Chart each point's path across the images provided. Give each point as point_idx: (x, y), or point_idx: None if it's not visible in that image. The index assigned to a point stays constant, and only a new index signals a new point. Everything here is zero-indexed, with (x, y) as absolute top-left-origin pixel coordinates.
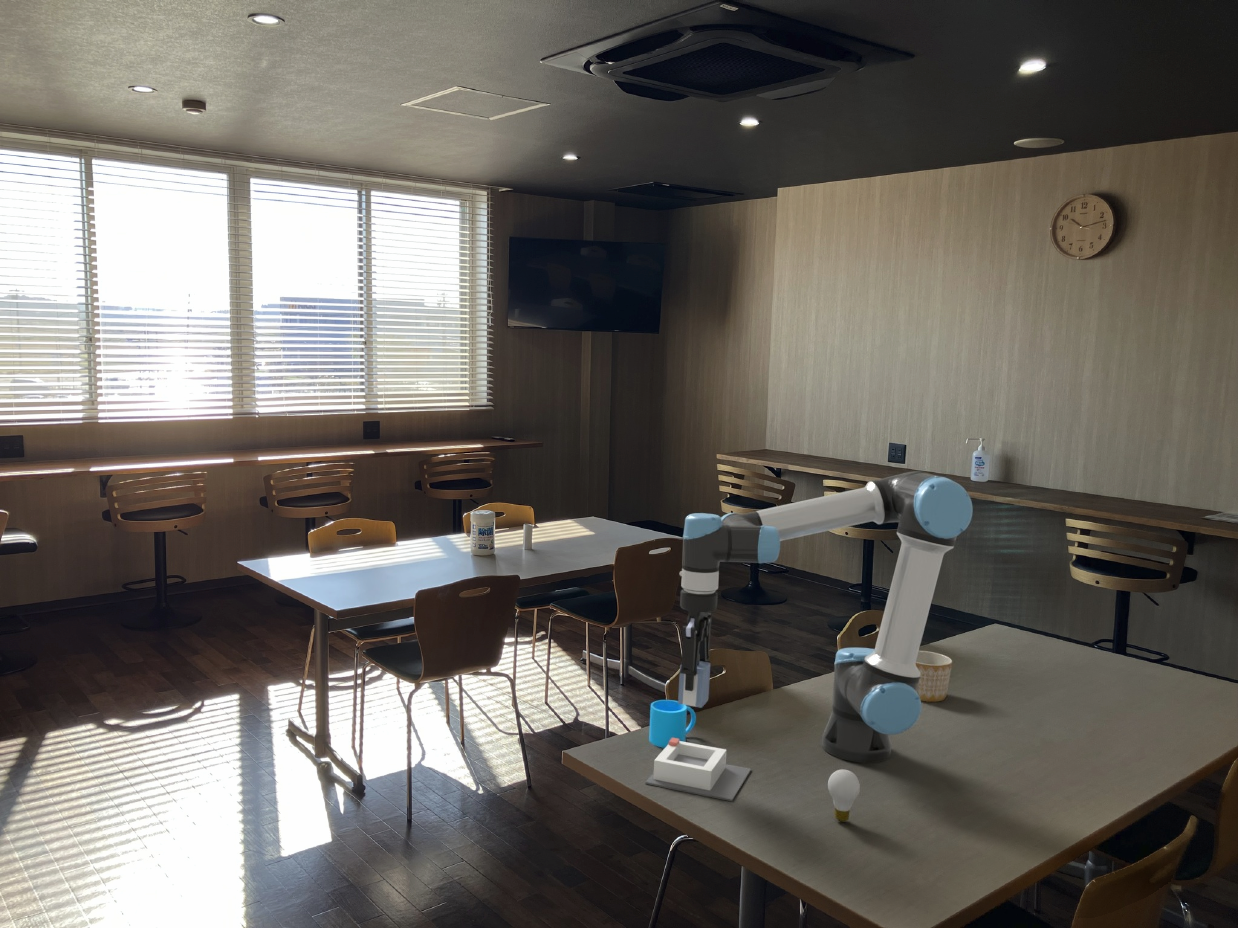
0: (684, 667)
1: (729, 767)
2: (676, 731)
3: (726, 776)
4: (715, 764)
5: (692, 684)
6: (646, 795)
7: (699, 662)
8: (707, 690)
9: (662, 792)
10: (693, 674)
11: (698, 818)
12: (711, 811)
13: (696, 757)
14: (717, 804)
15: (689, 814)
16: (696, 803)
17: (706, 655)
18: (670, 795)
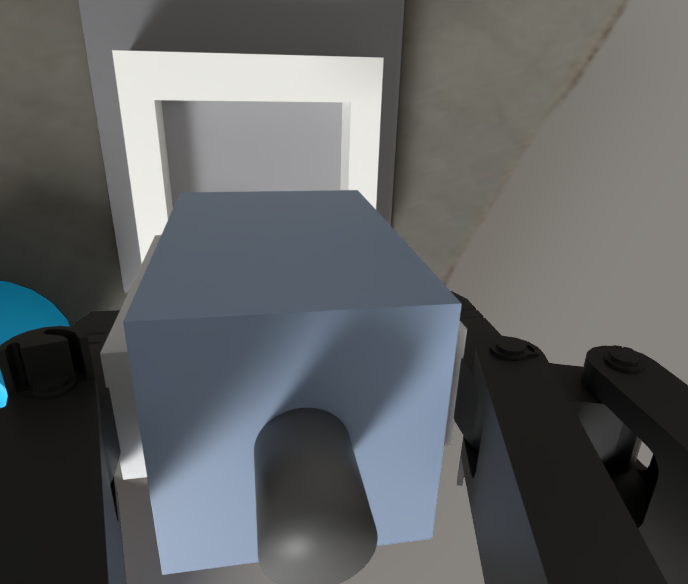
0: (658, 469)
1: (115, 35)
2: (19, 324)
3: (211, 25)
4: (308, 57)
5: (466, 314)
6: (460, 245)
7: (211, 433)
8: (217, 214)
9: (424, 210)
10: (594, 347)
11: (563, 43)
12: (504, 11)
13: (170, 179)
14: (446, 3)
15: (544, 80)
16: (463, 80)
17: (9, 450)
18: (435, 180)
